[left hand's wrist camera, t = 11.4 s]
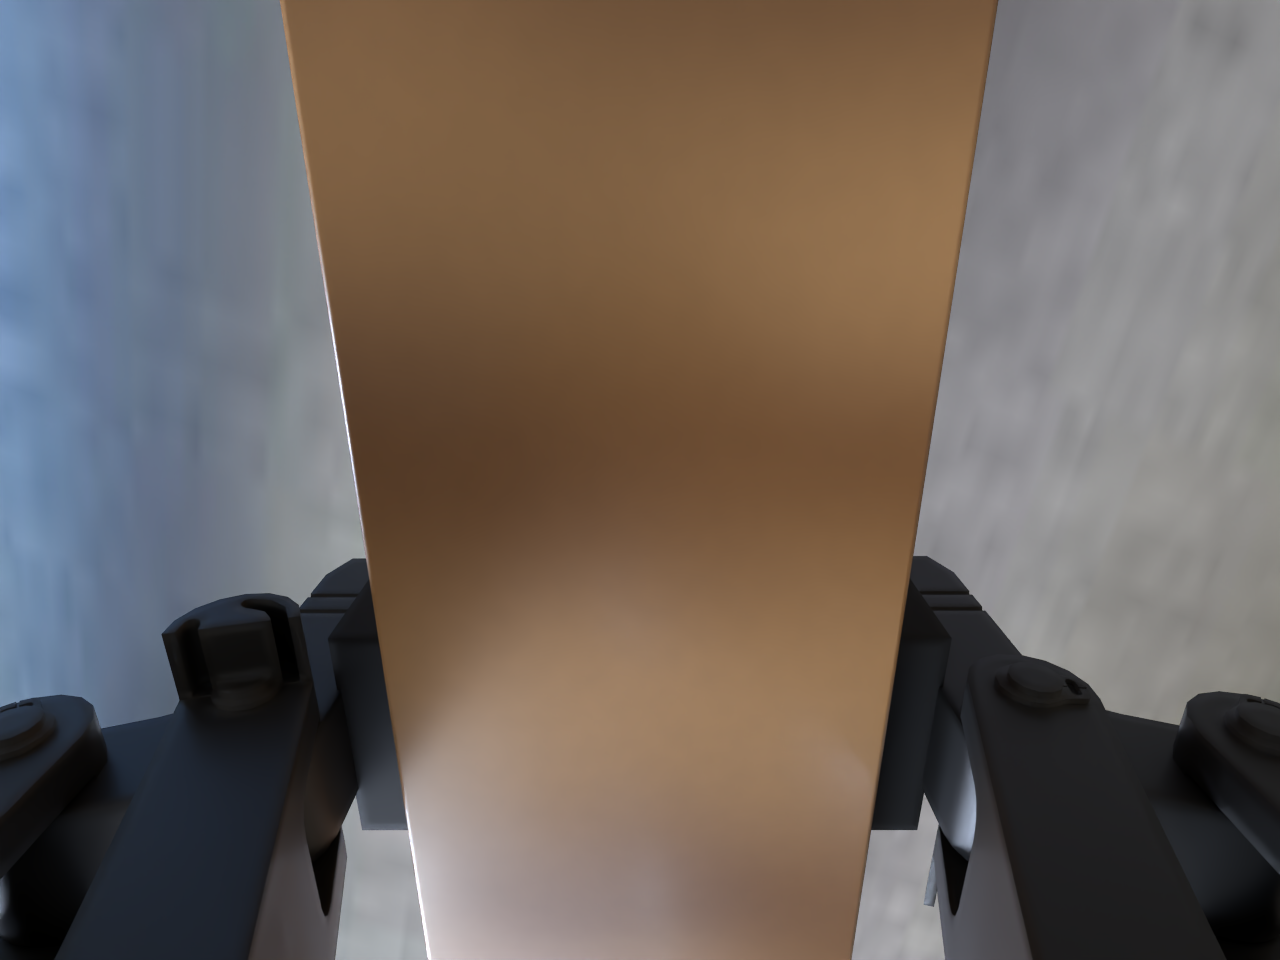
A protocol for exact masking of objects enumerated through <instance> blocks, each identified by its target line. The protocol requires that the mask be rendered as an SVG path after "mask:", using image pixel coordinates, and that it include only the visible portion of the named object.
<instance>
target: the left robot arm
mask: <svg viewBox="0 0 1280 960" xmlns="http://www.w3.org/2000/svg"><path fill="white" fill-rule="evenodd" d="M162 638H163V641H164V645H165V649H166V652H167V656H168V659H169V663H170V667H171V670H172V674H173V678H174V681H175V685H176V688H177V692H178V696H179V699H180V701H179V703H178V705H177V707H176V709H175V711H174V713H173V714H170V715H166V716H162V717H158V718H153V719H148V720H143V721H138V722H133V723H128V724H123V725H118V726H113V727H107V728H102V729H101V728H100V725H99V722H98V719H97V716H96V713H95V710H94V707H93V705H92V704H90V703H89V702H87V701H86V700H85V699H83V698H82V697H75V696H67V695H55V696H47V697H39V698H31V699H26V700H22V701H20V702H19V703H16V702H14V703H11V704H8V705H5V706H2V707H0V960H335V955H336V946H337V938H338V929H339V921H340V912H341V904H342V895H343V887H344V878H345V870H346V861H347V854H346V847H345V841H344V836H343V831H342V823H343V821H344V819H345V817H346V815H347V813H348V811H349V809H350V806H351V804H352V802H353V800H354V798H355V796H356V798H357V803H358V809H359V814H360V820H361V825H362V830H408V827H407V820H406V814H405V807H404V801H403V794H402V788H401V781H400V775H399V768H398V762H397V756H396V749H395V743H394V736H393V730H392V723H391V717H390V710H389V704H388V697H387V691H386V684H385V678H384V671H383V665H382V658H381V652H380V645H379V639H378V632H377V626H376V619H375V613H374V607H373V600H372V594H371V587H370V581H369V574H368V568H367V561H366V559H351V560H350V561H348V562H347V563H345V564H343V565H342V566H340V567H338V568H337V569H335V570H333V571H332V572H330V573H328V574H327V575H326V576H325V577H324V578H323V579H322V581H321V582H320V583H319V584H318V586H317V587H316V588H315V589H314V590H313V592H312V593H311V597H308V598H307V599H306V600H305V601H304V603H303V604H302V605H301V606H300V608H299V605H298V604H297V603H295V602H294V601H293V600H291V599H290V598H288V597H285V596H280V595H275V594H270V593H265V594H244V595H239V596H234V597H229V598H224V599H220V600H217V601H214V602H212V603H209V604H206V605H204V606H201V607H198V608H195V609H194V610H192V611H190V612H188V613H187V614H185V615H183V616H182V617H180V618H178V619H177V620H175V621H174V622H173V623H172V624H171V625H170V626H169V627H168V628H167V629H166V630H165V631H164V632H163V633H162ZM924 793H925V795H926V797H927V799H928V802H929V804H930V806H931V808H932V810H933V812H934V814H935V816H936V819H937V821H938V823H939V825H938V831H937V836H936V841H935V846H934V851H933V856H932V862H931V867H930V872H929V877H928V882H927V887H926V893H925V900H924V905H928V906H933V907H934V903H935V898H936V894H937V893H938V902H939V910H940V919H941V927H942V936H943V944H944V953H945V960H1280V703H1277V702H1274V701H1271V700H1268V699H1264V700H1263V699H1261V697H1257V696H1252V695H1248V694H1237V693H1229V692H1221V691H1218V692H1210V693H1202V694H1198V695H1196V696H1195V697H1194V698H1192V699H1191V700H1190V701H1188V702H1187V705H1186V708H1185V711H1184V714H1183V717H1182V720H1181V723H1180V726H1179V725H1174V724H1169V723H1164V722H1159V721H1154V720H1149V719H1144V718H1139V717H1134V716H1129V715H1123V714H1119V713H1115V712H1111V711H1107V710H1105V708H1104V706H1103V704H1102V702H1101V700H1100V698H1099V697H1098V696H1097V695H1096V693H1095V692H1094V691H1093V690H1092V688H1091V687H1090V686H1089V685H1088V684H1087V683H1086V682H1084V681H1083V680H1081V679H1080V678H1078V677H1077V676H1075V675H1074V674H1073V673H1071V672H1070V671H1068V670H1065V669H1063V668H1061V667H1058V666H1056V665H1054V664H1051V663H1049V662H1047V661H1044V660H1039V659H1035V658H1031V657H1027V656H1022V655H1021V653H1020V652H1019V651H1018V650H1017V649H1016V647H1015V646H1014V645H1013V644H1012V643H1011V641H1010V640H1009V639H1008V638H1007V637H1006V635H1005V634H1004V633H1003V632H1002V630H1001V629H1000V628H999V627H998V626H997V624H996V623H995V622H994V621H993V620H992V618H991V617H990V616H989V615H988V613H987V612H986V611H982V606H981V605H980V604H979V603H978V601H977V600H976V599H975V598H974V596H973V595H969V590H968V589H967V588H966V587H965V586H964V584H963V583H962V582H961V581H960V579H959V578H958V577H957V576H956V575H955V573H954V572H952V571H951V570H949V569H947V568H946V567H944V566H942V565H941V564H939V563H937V562H936V561H934V560H932V559H931V558H929V557H927V556H913V560H912V566H911V573H910V579H909V586H908V592H907V599H906V605H905V612H904V619H903V625H902V632H901V638H900V645H899V651H898V658H897V664H896V671H895V677H894V684H893V690H892V697H891V703H890V710H889V716H888V723H887V730H886V736H885V743H884V749H883V756H882V762H881V769H880V775H879V782H878V788H877V795H876V801H875V808H874V814H873V821H872V827H871V830H917V828H918V823H919V817H920V812H921V806H922V801H923V795H924Z"/></svg>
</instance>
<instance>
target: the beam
mask: <svg viewBox="0 0 1280 960" xmlns="http://www.w3.org/2000/svg"><path fill="white" fill-rule="evenodd" d="M280 4H281V11H282V17H283V24H284V30H285V36H286V43H287V49H288V56H289V62H290V69H291V75H292V82H293V88H294V95H295V101H296V108H297V114H298V121H299V127H300V134H301V140H302V147H303V153H304V160H305V166H306V173H307V179H308V185H309V192H310V198H311V205H312V211H313V218H314V224H315V231H316V237H317V244H318V250H319V257H320V263H321V270H322V276H323V283H324V289H325V296H326V302H327V309H328V315H329V322H330V328H331V334H332V341H333V347H334V354H335V360H336V367H337V373H338V380H339V386H340V393H341V399H342V406H343V412H344V419H345V425H346V432H347V438H348V445H349V451H350V458H351V464H352V471H353V477H354V483H355V490H356V496H357V503H358V509H359V516H360V522H361V529H362V535H363V542H364V548H365V555H366V561H367V568H368V574H369V581H370V587H371V594H372V600H373V607H374V613H375V619H376V626H377V632H378V639H379V645H380V652H381V658H382V665H383V671H384V678H385V684H386V691H387V697H388V704H389V710H390V717H391V723H392V730H393V736H394V743H395V749H396V756H397V762H398V768H399V775H400V781H401V788H402V794H403V801H404V807H405V814H406V820H407V827H408V833H409V840H410V846H411V853H412V859H413V866H414V872H415V879H416V885H417V892H418V898H419V905H420V911H421V917H422V924H423V930H424V937H425V943H426V950H427V956H428V960H851V958H852V951H853V945H854V938H855V932H856V925H857V919H858V912H859V906H860V899H861V893H862V886H863V880H864V873H865V867H866V860H867V854H868V847H869V840H870V834H871V827H872V821H873V814H874V808H875V801H876V795H877V788H878V782H879V775H880V769H881V762H882V756H883V749H884V743H885V736H886V730H887V723H888V716H889V710H890V703H891V697H892V690H893V684H894V677H895V671H896V664H897V658H898V651H899V645H900V638H901V632H902V625H903V619H904V612H905V605H906V599H907V592H908V586H909V579H910V573H911V566H912V560H913V553H914V547H915V540H916V534H917V527H918V521H919V514H920V508H921V501H922V494H923V488H924V481H925V475H926V468H927V462H928V455H929V449H930V442H931V436H932V429H933V423H934V416H935V410H936V403H937V397H938V390H939V383H940V377H941V370H942V364H943V357H944V351H945V344H946V338H947V331H948V325H949V318H950V312H951V305H952V299H953V292H954V286H955V279H956V272H957V266H958V259H959V253H960V246H961V240H962V233H963V227H964V220H965V214H966V207H967V201H968V194H969V188H970V181H971V175H972V168H973V162H974V155H975V148H976V142H977V135H978V129H979V122H980V116H981V109H982V103H983V96H984V90H985V83H986V77H987V70H988V64H989V57H990V51H991V44H992V37H993V31H994V24H995V18H996V11H997V5H998V0H280Z"/></svg>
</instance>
